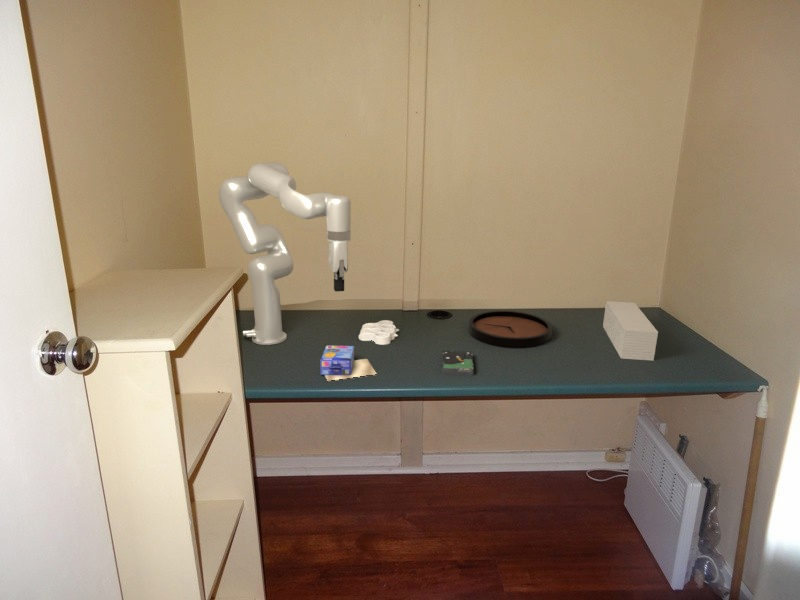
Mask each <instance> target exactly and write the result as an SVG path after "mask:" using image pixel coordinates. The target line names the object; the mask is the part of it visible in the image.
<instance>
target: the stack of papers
mask: <svg viewBox="0 0 800 600" xmlns="http://www.w3.org/2000/svg"><path fill="white" fill-rule="evenodd" d="M604 308H605V309H604V316H603V322H602V323H603V324H602V327H603V329H604V331H605V333H606V335H607V336H608V338H609V340H610V342H611V343H612V345H613V347H614V348H615V350H616V352H617V354H618V356H619V357H620V359H625V360H626V359H627V360H640V361H653V362H654V361H655V354H656V346H657V340H658V337H659V335H658V334H659V331H658V329H656V328H655V326H654V325H653V324H652V322H651V321H650V320H649V319H648V318H647V316H646V315H645V313H644V312H643V311H642V310H641V308H640V307H639V306H638V305H637V304H636V303H635V302H631V301H630V302H626V301H608V300H607V301H605V307H604Z"/></svg>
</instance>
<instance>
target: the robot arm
mask: <svg viewBox="0 0 800 600" xmlns="http://www.w3.org/2000/svg"><path fill="white" fill-rule="evenodd" d="M289 173H290V172H289V170H288V169H287V167H286V166H285V165H284V163H283V164H282V163H281V162H279V161H277V162H276V161H273V162H259V163H255V164H253V165H252V166H251V167H249V169H248V171H247V175H243V176H242V175H241V176H232V177H230V178H229V177H228V178H227V179H225V180H223V181H222V182H221V183H220V186H219V189H218V200H219V204H220V206H221V208H222V210H223V212H224V213H225V215H226V217H227V218H228V220H229V221H230V224H231V226H232V228H233V230H234V233H235V235H236V237H237V240H238V241H239V244H240V246H241V248H242V250H243V251H244V253H245V254H247V255H256V254H257V255H258V254H261V253H265V252H267V254H262V255H259V256H256V257H254V258H253V259H252V260H250V261H249V263H248V266H247V274H248V277H249V281H250V284H251V285H250V286H251V291H252V292H251V293H252V301H253V313H254V314H253V317H254V326H253V328H252V329H250V330H249V329H247V330H245V329H244V330H243V331H242V335H243V336H244V337H245V336H246V338H251V340H252V343H254V344H256V345H260V346H261V345H262V346H271V345H278V344H280V343H283V342H284V341H286V340H287V338H288V337H287V336H288V335H287V333H286V332H284V331H283V324H282V308H281V295H280V290H279V288H278V286H277V285H276V283H275V281H276V280H278V279H282V278H284V277H288V276H289V275H290V274H292V273H293V271H294V261H293V258H292V255H291V253H290V250H289V248H288V245H287V243H286V240H285V239H284V235H283V234H282V233H281V231H280V229H279V228H278V227H277V226H276V225H273V224H270V223H267V224H266V223H265V224H262V225H260V224H259V223H258V221H257V218H256V216H255V214H254V212H253V211H252V209H250V207H248V206H247V204H245V203H244V202H246V201H254V200H260V199H263V198H265V197H268V196H272V197H274V198H275V199H278V200H279V202H280V205H281V206H282V208H283V209H284V210H285V211H286V212H288V213H289V214H292V215H294V216H296V217H298V218H300V219H302V220H313V219H317V218H324V217H326V241H327V242H328V257H327V259H328V263H327V264H328V265H327V266H328V268H329V270H330V271H331V272H332V273H333V290H334V292H344V291H345V273H347V272H348V270H349V248H348V246H349V244H348V242H351V240H352V239H351V234H352V233H351V221H352V220H351V215H352V214H351V209H352V208H351V207H352V206H351V203H352V202H351V199H350V197H349V196H346V195H335V194H332V193H330V192H325V191H324V192H317V193H310V194H303V193H301V192H298V191H297V182H296V179H295V178H294V177H293V176H291V175H290V174H289Z"/></svg>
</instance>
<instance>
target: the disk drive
mask: <svg viewBox="0 0 800 600" xmlns="http://www.w3.org/2000/svg"><path fill="white" fill-rule="evenodd" d="M441 361H442V363H441V364H442V365H441V373H442V375H451V376H453V375H454V376H455V375H456V376H474V375H475V374H474V373H475V372H474V371H475V369H474V368H475V366H474V358H473V351H466V350H465V351H464V350H454V351H450V350H448V349H447V350H442V360H441Z"/></svg>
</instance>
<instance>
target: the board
mask: <svg viewBox="0 0 800 600" xmlns="http://www.w3.org/2000/svg"><path fill="white" fill-rule="evenodd" d="M375 374H377V372H376V370H375V369H374V367H373V366H372V364H371V362H370V361H369V359H368V358H363V359H361V358H360V359H354V362H353V366H352V370H351V375H324V377H325V380H326V379H327V380H326V381H328V382H332V381H331V380H335V381H340V380H339V379H343V380H348V379H347V378H350V379H354V378H353V377H358V378H361V377H360V376H365V377H367V376H366V375H373V376H376V375H375ZM377 375H378V374H377Z"/></svg>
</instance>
